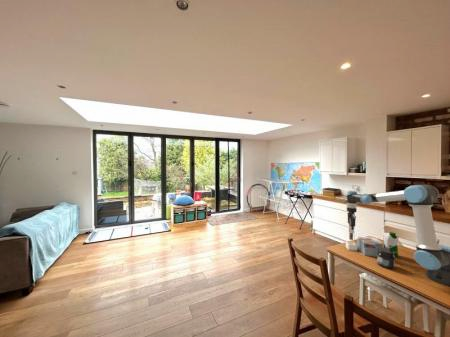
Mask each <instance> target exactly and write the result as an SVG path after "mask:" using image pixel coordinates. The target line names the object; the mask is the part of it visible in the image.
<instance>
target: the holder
mask: <svg viewBox="0 0 450 337" xmlns="http://www.w3.org/2000/svg"><path fill="white" fill-rule="evenodd" d="M345 248H346V249H347V250H349V251H358V248H357V243H355V241H345Z"/></svg>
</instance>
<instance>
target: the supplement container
mask: <svg viewBox="0 0 450 337" xmlns="http://www.w3.org/2000/svg"><path fill="white" fill-rule="evenodd" d="M376 263H377V264H378V265H379V266H380V267H381V268H384V269H388V270H389V269H390V270H394V269H395V268H396V266H395V265H396V257H395V256H394V252H393V251H392V250H389V249H386V248H384V247H383V248H378V252H377V258H376Z"/></svg>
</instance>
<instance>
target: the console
mask: <svg viewBox="0 0 450 337" xmlns="http://www.w3.org/2000/svg"><path fill="white" fill-rule="evenodd" d="M366 243H369V244H373V247H367V246H366ZM356 245H357V250H359V252H361V253H362V255H364V256H368V257H375V258H376V257H377V252H378V248H384V242H382V241H381V240H379V239H378V238H376V237H370V236H369V237H368V236H357V241H356Z"/></svg>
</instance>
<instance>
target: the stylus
mask: <svg viewBox="0 0 450 337" xmlns="http://www.w3.org/2000/svg"><path fill="white" fill-rule="evenodd" d="M350 225H351V219H350ZM348 233H349V236H348V237H349V240H350V241H353V240H354V233H350V227H349V226H348Z"/></svg>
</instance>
